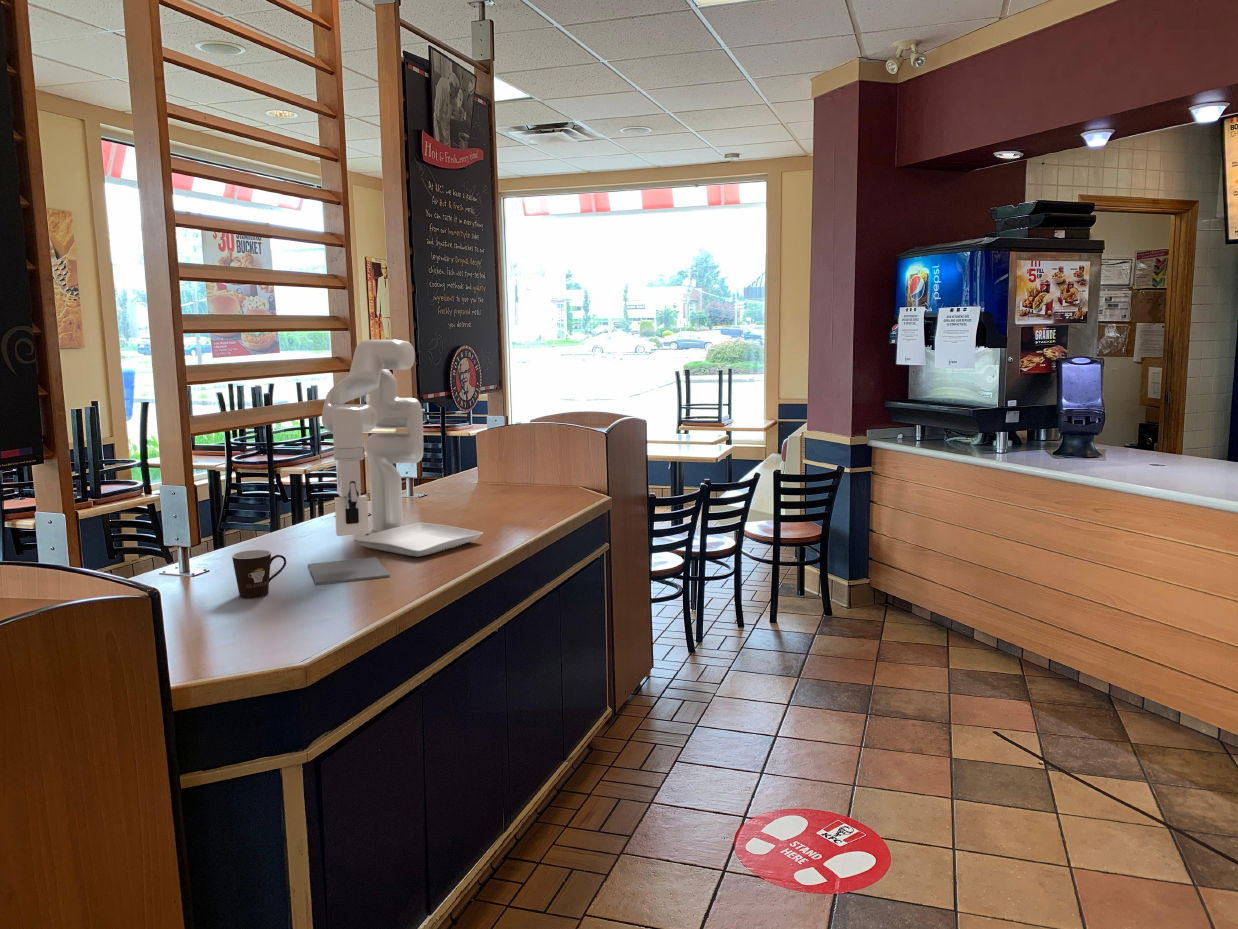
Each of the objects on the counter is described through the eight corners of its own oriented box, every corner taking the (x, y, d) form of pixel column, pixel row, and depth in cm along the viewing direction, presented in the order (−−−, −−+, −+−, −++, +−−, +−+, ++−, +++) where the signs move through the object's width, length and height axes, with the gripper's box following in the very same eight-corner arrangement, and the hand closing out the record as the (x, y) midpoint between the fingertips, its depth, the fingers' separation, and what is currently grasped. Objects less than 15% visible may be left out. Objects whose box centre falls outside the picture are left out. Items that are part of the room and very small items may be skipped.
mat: (308, 566, 236) (308, 563, 236) (376, 559, 244) (376, 557, 244) (316, 584, 218) (316, 582, 218) (389, 576, 226) (389, 574, 226)
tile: (336, 534, 234) (334, 497, 232) (366, 531, 237) (365, 495, 236) (337, 536, 231) (335, 498, 230) (368, 533, 235) (367, 496, 233)
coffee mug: (231, 601, 205) (229, 559, 203) (237, 591, 213) (234, 551, 212) (284, 597, 208) (282, 556, 206) (288, 587, 216) (286, 548, 215)
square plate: (420, 532, 279) (419, 520, 278) (485, 543, 264) (484, 531, 264) (352, 549, 257) (351, 536, 256) (418, 562, 242) (418, 549, 241)
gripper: (330, 451, 237) (333, 518, 239) (338, 458, 222) (341, 529, 225) (358, 449, 240) (361, 515, 243) (368, 456, 225) (371, 526, 228)
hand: (351, 521), depth 234 cm, fingers closed on tile, 2 cm apart
